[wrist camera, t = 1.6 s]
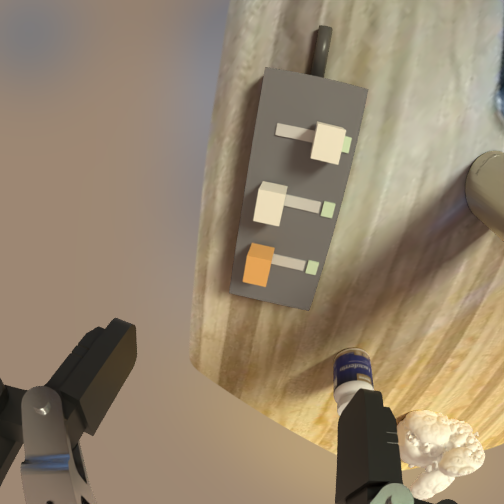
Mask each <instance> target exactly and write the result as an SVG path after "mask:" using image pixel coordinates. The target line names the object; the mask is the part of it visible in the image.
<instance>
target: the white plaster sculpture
mask: <svg viewBox="0 0 504 504" xmlns="http://www.w3.org/2000/svg"><path fill="white" fill-rule="evenodd" d="M472 431H473V429H472V427H471V426H470V425H469V424H468V423H466V422H465V423H464V421H459V420H457V419H453V418H450V419H448V418H447V416H446V415H445V416H444V415H443V414H442V413H434V412H432V411H429V410H418V411H412V412H409V413H408V414H407V415H406V418H404V420H401V421H400V422H399V424H398V425H397V435H398V441H399V442H398V445H399V450H400V458H401V460H402V461H403V462H405V463H408V464H409V465H408V466H409V467H410V468H412V467H414V466H418V467H423V468H425V470H426V471H425V472H423V473H421V474H420V475H419V476H418V477H417V479H416V480H415V482H414V483H413V484H412V486H411V490H410V491H411V493H412V495H413V497H414V498H417V499H419V500H422V499H427V498H431V497H432V496H434V494H435V493H439V492H441V491H443V490H445V488H446V487H448V486H449V485H450V484H451V483H452V482H453V480H455V477H456V476H463V475H467V474H470V473H472V472H474V471H475V470H477V469H478V468H479V467H480V466H482V464H483V462H484V459H485V454H484V450H483V447H482V445H481V443H480V442H479V440H478V439H476V437H474V436H475V435H476V436H478V437H479V434H478V432H476V433H473V434H472Z"/></svg>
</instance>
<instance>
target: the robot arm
mask: <svg viewBox="0 0 504 504" xmlns="http://www.w3.org/2000/svg"><path fill="white" fill-rule="evenodd" d="M465 194H466V200H467V203H468V206H469V208H470V210H471V211H472V213H473V214H474V215H475V216H476V217H477V218H478V219H479V220H481V221H482V222H483V223H484V224H485V225H486V226H487V227H488V228H489V229H490V230H491V231H493V232H494V233H495V234H496V235H497V236H498V237H499V238H500V239H501V240H502V241H503V242H504V153H503V152H500V151H489V152H487V153H484V154H482V155H481V156H480V157H478V158H477V159H476V161H475V162H474V163H473V165H472V166H471V168H470V170H469V173H468V175H467V179H466V184H465ZM136 357H137V344H136V327H135V325H133V324H131V323H128V322H125V321H123V320H120V319H118V318H114V319H113V320H112V321H111V322H110V324H109V325H108V326H107V327H106V329H103V328H101V327H97V328H95V329H94V330H92V331H90V332H88V333H86V335H85V336H84V337H83V338H82V340H81V341H80V342H79V343H78V346H76V347H75V348H74V349H73V351H72V353H71V354H69V356H68V357H67V358H66V359H65V361H64V362H63V363H62V365H61V366H60V367H59V368H58V370H57V371H56V372H55V374H54V375H53V376H52V377H51V379H50V380H49V381H48V383H47V384H45V385H44V386H36V387H33V388H31V389H29V390H22V389H18V388H15V387H11V386H7V385H4V384H3V382H2V380H1V379H0V486H1V484H2V482H3V480H4V478H5V476H6V474H7V472H8V470H9V468H10V466H11V464H12V462H13V461H14V459H15V457H16V455H17V453H18V452H19V450H20V448H21V446H22V444H23V443H24V449H25V461H24V462H22V463H21V478H22V484H23V490H24V496H25V501H26V504H97V501H96V498H95V496H94V494H93V492H92V489H91V486H90V483H89V480H88V476H87V472H86V468H85V464H84V459H83V455H82V451H81V446H80V441H79V439H80V437H81V436H82V434H83V432H86V433H88V434H90V435H92V436H93V435H94V434H95V432H96V430H97V428H98V427H99V425H100V423H101V421H102V420H103V418H104V416H105V415H106V413H107V411H108V409H109V408H110V406H111V404H112V403H113V401H114V399H115V397H116V396H117V394H118V392H119V391H120V389H121V387H122V386H123V384H124V382H125V381H126V379H127V377H128V375H129V374H130V372H131V370H132V369H133V367H134V364H135V361H136ZM398 442H399V441H398V435H397V424H396V419H395V417H394V415H393V413H392V411H391V410H390V408H389V407H383V399H382V394H381V392H380V391H374V390H368V389H363V388H360V389H359V390H358V391H357V392H356V393H355V395H354V396H353V398H352V399H351V400H350V402H349V403H348V404H347V406H346V407H345V408H344V410H343V411H342V413H341V415H340V418H339V422H338V446H337V476H336V495H335V504H432V503H429V502H425V501H422V500H419V499H416V498H414V497H413V495H412V493H411V491H410V490H409V489H408V488H407V487H406V486H404V485H403V482H402V471H401V460H400V450H399V445H398ZM437 504H457V503H456V502H455V501H453V500H450V499H445V500H442V501H440V502H438V503H437Z"/></svg>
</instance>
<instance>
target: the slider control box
mask: <svg viewBox="0 0 504 504" xmlns="http://www.w3.org/2000/svg"><path fill="white" fill-rule="evenodd" d="M331 35H332V28H331V27H328V26H322V25H321V26H319V30H318V35H317V41H316V47H315V52H314V58H313V63H312V69H311V74H310V75H308V74H303V73H297V72H292V71H286V70H281V69H274V68H268V67H265V72H264V78H263V83H262V89H261V95H260V101H259V107H258V113H257V118H256V124H255V130H254V136H253V142H252V148H251V155H250V161H249V167H248V173H247V179H246V186H245V192H244V198H243V204H242V211H241V217H240V224H239V230H238V237H237V243H236V250H235V256H234V263H233V270H232V276H231V283H230V290H229V293H231V294H235V295H240V296H244V297H248V298H253V299H257V300H261V301H266V302H270V303H275V304H279V305H284V306H288V307H293V308H298V309H302V310H307V311H309V310H310V307H311V304H312V301H313V298H314V295H315V292H316V288H317V285H318V282H319V279H320V276H321V273H322V269H323V266H324V263H325V259H326V256H327V253H328V249H329V246H330V243H331V239H332V236H333V232H334V229H335V225H336V222H337V218H338V214H339V211H340V207H341V203H342V200H343V196H344V192H345V188H346V184H347V181H348V177H349V173H350V169H351V165H352V161H353V156H354V152H355V148H356V144H357V139H358V135H359V131H360V126H361V122H362V117H363V113H364V108H365V103H366V98H367V93H368V89H365V88H362V87H358V86H354V85H351V84H347V83H343V82H339V81H335V80H330V79H326V78H324V73H325V68H326V63H327V57H328V52H329V46H330V40H331ZM317 121H318V122H322V123H326V124H331V125H335V126H339V127H343V128H344V129H345V130H346V133H345V138H344V142H343V147H342V151H341V155H340V160H339V164H338V165H337V164H333V163H328V162H324V161H320V160H316V159H311V154H310V153H311V148H312V143H313V138H314V134H315V129H316V124H317ZM263 181H265V182H270V183H275V184H280V185H284V186H288V187H287V192H286V197H285V202H284V207H283V212H282V216H281V220H280V224H279V226H274V225H270V224H265V223H261V222H256V221H253V219H254V213H255V207H256V202H257V196H258V190H259V188H260V186H261V184H262V182H263ZM252 243H255V244H260V245H264V246H269V247H274V248H275V249H274V254H273V258H272V263H271V267H270V272H269V276H268V280H267V284H266V287H263V286H259V285H254V284H250V283H246V282H243V276H244V271H245V265H246V259H247V254H248V252H249V249H250V247H251V244H252Z"/></svg>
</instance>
